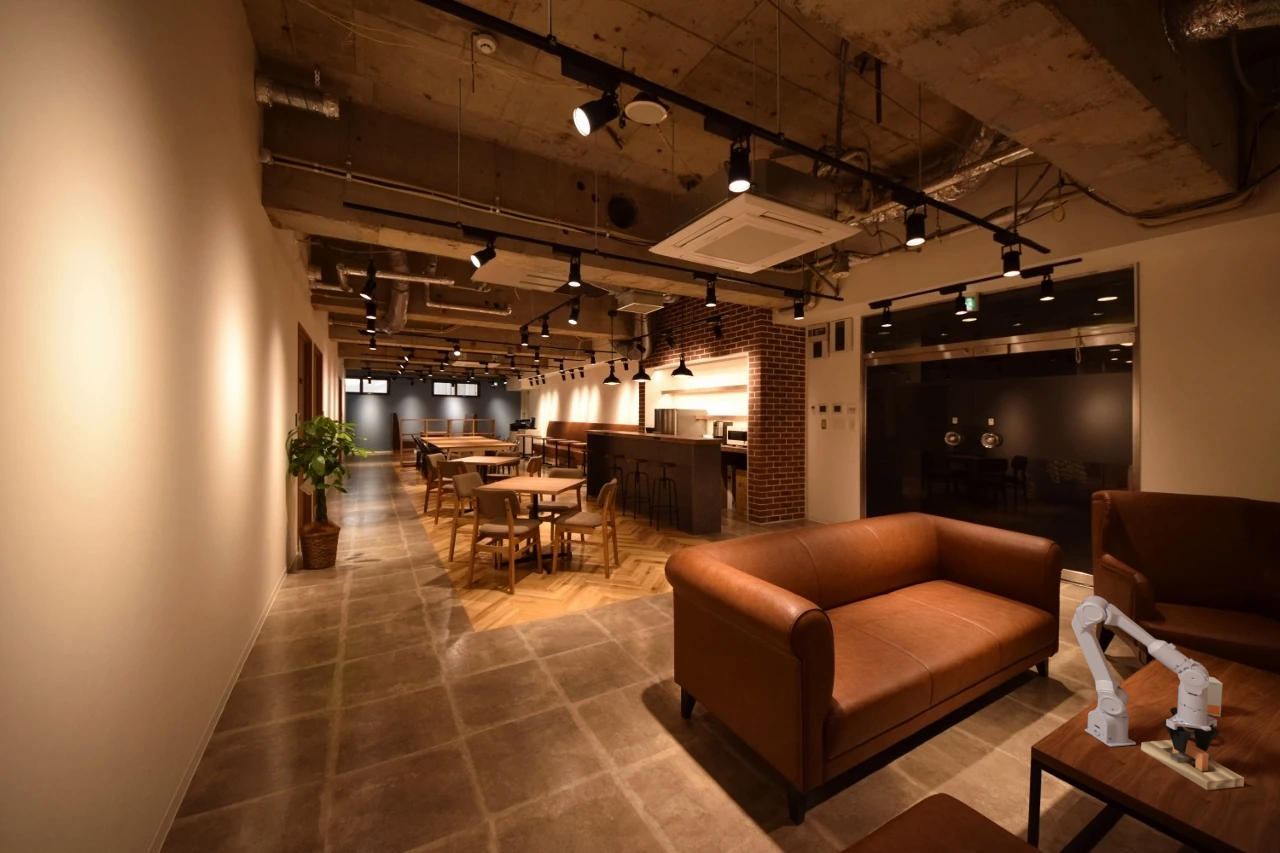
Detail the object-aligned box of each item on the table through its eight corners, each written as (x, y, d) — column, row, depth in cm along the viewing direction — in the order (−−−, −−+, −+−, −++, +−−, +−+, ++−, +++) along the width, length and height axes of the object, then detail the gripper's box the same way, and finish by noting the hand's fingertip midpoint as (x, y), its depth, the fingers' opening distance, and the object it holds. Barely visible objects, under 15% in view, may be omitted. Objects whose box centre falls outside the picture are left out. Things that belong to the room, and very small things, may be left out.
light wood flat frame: (1206, 790, 134) (1207, 776, 134) (1141, 749, 150) (1141, 737, 150) (1243, 786, 136) (1244, 772, 136) (1174, 746, 152) (1175, 734, 152)
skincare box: (1197, 713, 168) (1199, 679, 168) (1189, 706, 172) (1190, 673, 172) (1221, 717, 166) (1223, 683, 166) (1212, 710, 170) (1214, 677, 170)
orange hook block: (1201, 771, 139) (1202, 754, 139) (1172, 754, 146) (1173, 738, 146) (1207, 770, 140) (1208, 754, 140) (1178, 753, 147) (1178, 737, 146)
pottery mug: (1225, 747, 152) (1221, 728, 150) (1193, 756, 154) (1188, 738, 152) (1185, 714, 164) (1181, 696, 162) (1156, 723, 165) (1151, 706, 163)
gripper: (1187, 715, 138) (1185, 761, 138) (1231, 711, 139) (1229, 757, 140) (1158, 700, 145) (1156, 744, 145) (1200, 697, 146) (1198, 740, 147)
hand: (1190, 749), depth 143 cm, fingers open, 7 cm apart
